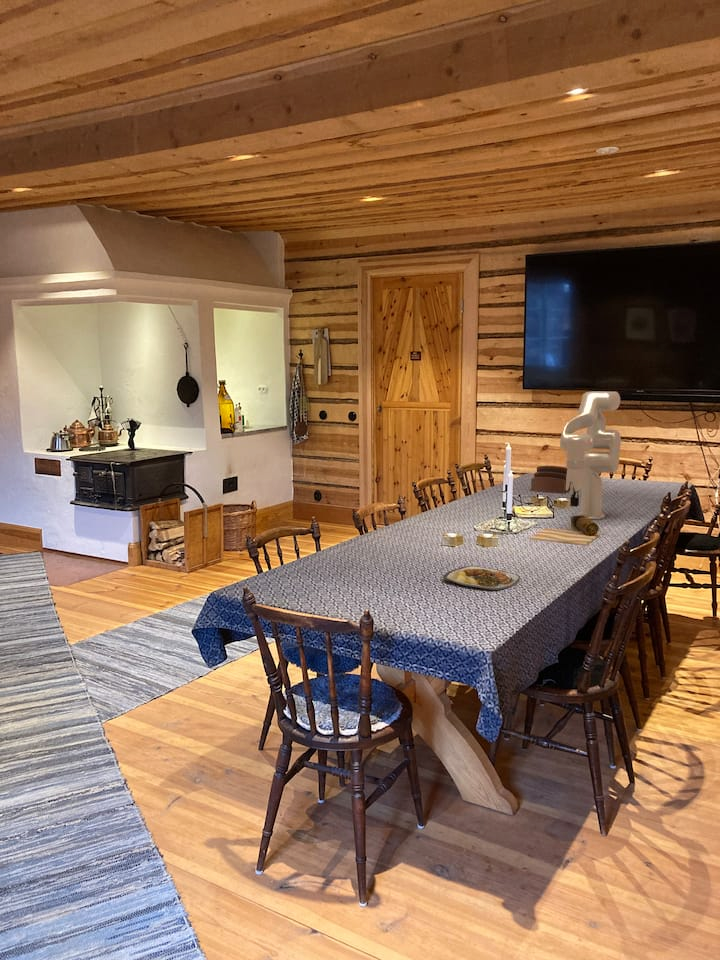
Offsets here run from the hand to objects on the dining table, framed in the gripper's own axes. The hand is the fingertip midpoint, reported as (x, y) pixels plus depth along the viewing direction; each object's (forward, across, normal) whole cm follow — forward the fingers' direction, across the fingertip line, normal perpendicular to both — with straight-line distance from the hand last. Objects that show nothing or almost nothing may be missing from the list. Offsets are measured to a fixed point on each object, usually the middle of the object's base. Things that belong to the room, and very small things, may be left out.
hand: (574, 505), depth 340 cm
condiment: (+8, 0, +2) cm, 8 cm away
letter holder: (+14, -93, -42) cm, 103 cm away
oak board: (+11, +13, 0) cm, 17 cm away
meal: (+10, +87, -6) cm, 88 cm away
